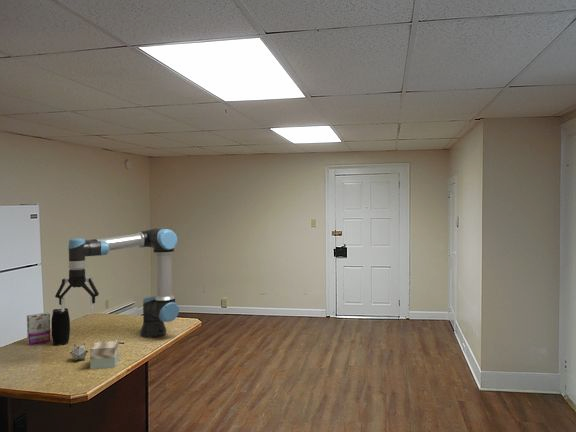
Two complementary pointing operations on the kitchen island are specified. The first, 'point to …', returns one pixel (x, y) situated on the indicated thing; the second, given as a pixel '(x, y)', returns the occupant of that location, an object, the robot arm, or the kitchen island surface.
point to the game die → (79, 352)
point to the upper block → (104, 350)
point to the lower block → (104, 363)
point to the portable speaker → (60, 326)
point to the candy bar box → (38, 328)
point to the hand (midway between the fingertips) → (77, 310)
